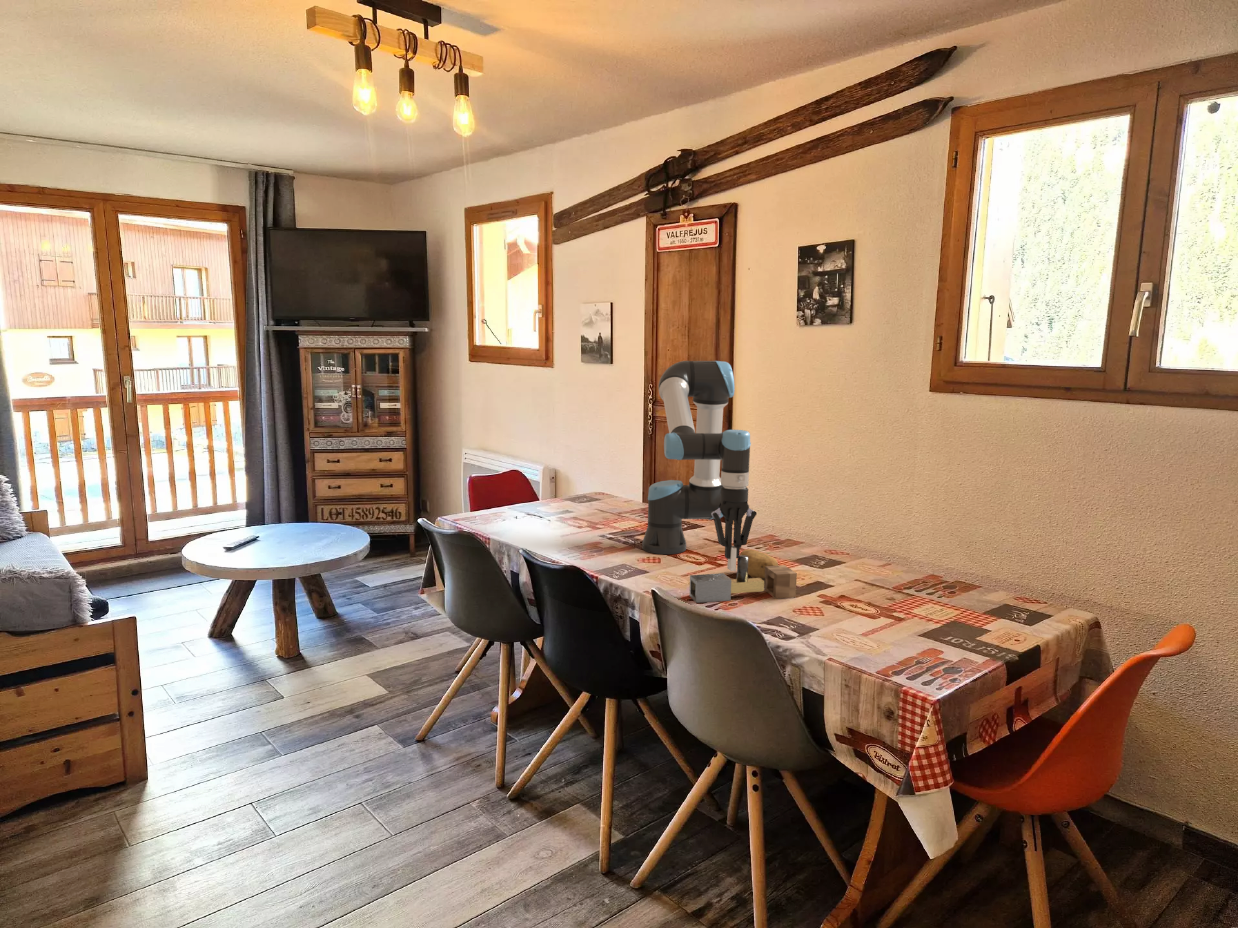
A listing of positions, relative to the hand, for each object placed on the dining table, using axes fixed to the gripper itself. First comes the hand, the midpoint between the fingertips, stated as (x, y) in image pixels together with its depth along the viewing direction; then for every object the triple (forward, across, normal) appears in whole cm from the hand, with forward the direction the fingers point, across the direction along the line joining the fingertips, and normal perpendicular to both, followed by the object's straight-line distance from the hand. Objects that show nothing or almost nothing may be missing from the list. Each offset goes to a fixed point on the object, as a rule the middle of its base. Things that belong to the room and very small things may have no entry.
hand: (731, 569), depth 216 cm
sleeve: (+8, -6, 0) cm, 10 cm away
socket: (+8, +15, 0) cm, 17 cm away
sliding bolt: (+6, 0, 0) cm, 6 cm away
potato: (+8, +15, +15) cm, 23 cm away
